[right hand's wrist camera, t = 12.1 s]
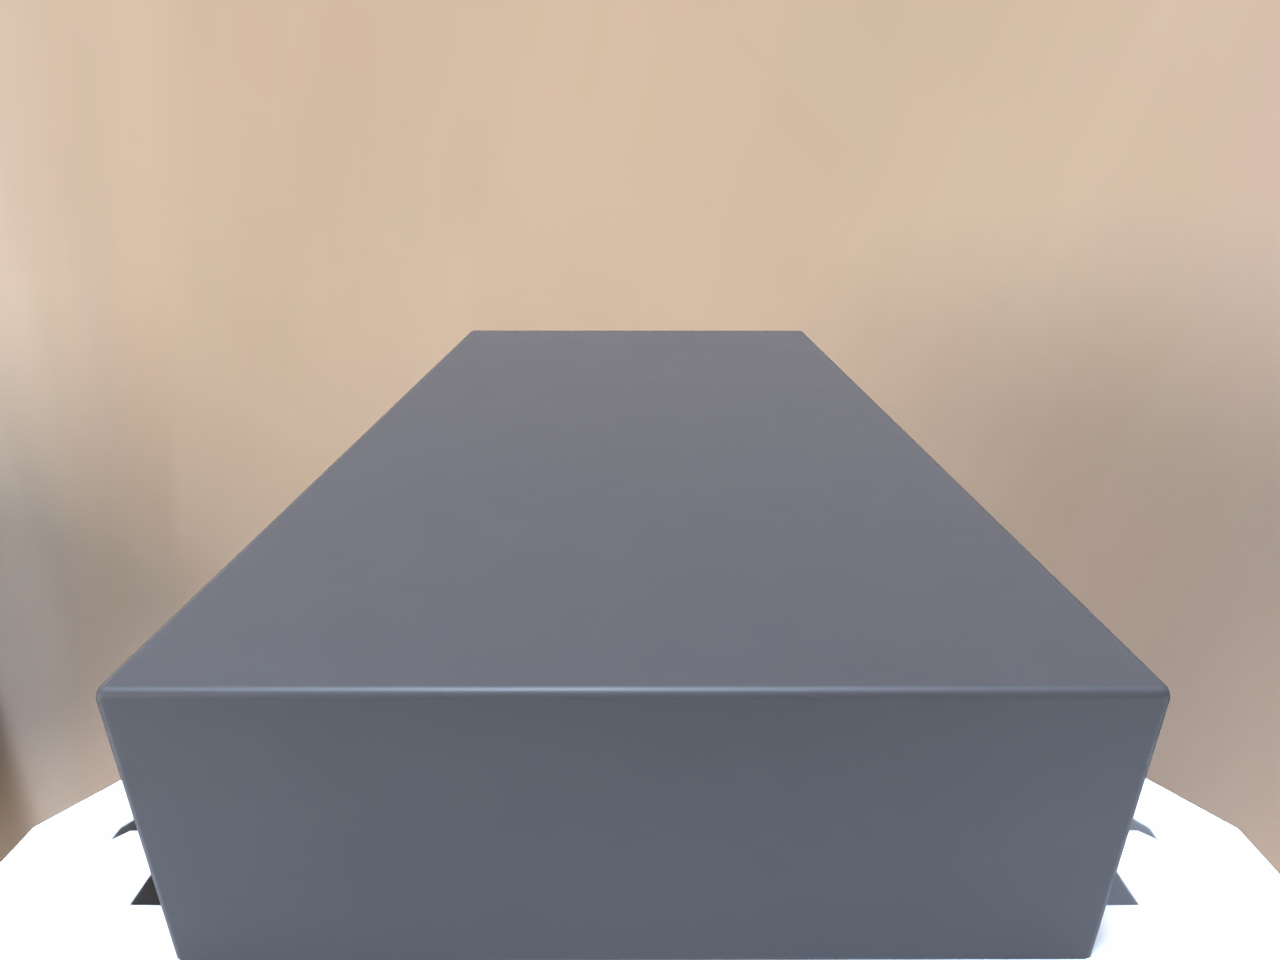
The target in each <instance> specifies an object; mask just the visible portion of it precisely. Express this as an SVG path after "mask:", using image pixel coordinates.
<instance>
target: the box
mask: <svg viewBox="0 0 1280 960" xmlns="http://www.w3.org/2000/svg"><path fill="white" fill-rule="evenodd" d="M96 700H97V704H98V707H99V710H100V713H101V716H102V720H103V723H104V726H105V729H106V732H107V735H108V739H109V742H110V745H111V748H112V751H113V755H114V758H115V761H116V764H117V767H118V770H119V774H120V777H121V780H122V783H123V786H124V790H125V793H126V796H127V799H128V802H129V805H130V809H131V812H132V815H133V818H134V821H135V825H136V828H137V831H138V834H139V837H140V840H141V844H142V847H143V850H144V853H145V856H146V860H147V863H148V866H149V869H150V872H151V875H152V879H153V882H154V885H155V888H156V891H157V895H158V898H159V901H160V904H161V907H162V910H163V914H164V917H165V920H166V923H167V926H168V930H169V933H170V936H171V939H172V942H173V945H174V949H175V952H176V955H177V958H178V959H179V960H936V959H1087V958H1089V957H1091V953H1092V950H1093V947H1094V944H1095V940H1096V937H1097V934H1098V931H1099V927H1100V924H1101V921H1102V918H1103V914H1104V911H1105V908H1106V905H1107V901H1108V898H1109V895H1110V892H1111V888H1112V885H1113V882H1114V879H1115V875H1116V872H1117V869H1118V866H1119V862H1120V859H1121V856H1122V853H1123V849H1124V846H1125V843H1126V840H1127V836H1128V833H1129V830H1130V827H1131V823H1132V820H1133V817H1134V814H1135V810H1136V807H1137V804H1138V801H1139V797H1140V794H1141V791H1142V788H1143V784H1144V781H1145V778H1146V775H1147V771H1148V768H1149V765H1150V762H1151V758H1152V755H1153V752H1154V749H1155V745H1156V742H1157V739H1158V736H1159V732H1160V729H1161V726H1162V723H1163V720H1164V716H1165V713H1166V710H1167V707H1168V703H1169V700H1170V692H1169V690H1168V687H1167V686H1166V685H1165V684H1164V683H1163V682H1162V681H1161V680H1160V679H1159V678H1158V677H1157V676H1156V675H1155V674H1154V673H1153V672H1152V671H1151V670H1150V669H1149V668H1147V667H1146V666H1145V665H1144V664H1143V663H1142V662H1141V661H1140V660H1139V659H1138V658H1137V657H1136V656H1135V655H1134V654H1133V653H1132V652H1131V651H1130V650H1129V649H1128V648H1127V647H1126V646H1125V645H1124V644H1123V643H1122V642H1121V641H1120V640H1119V639H1118V638H1117V637H1116V636H1115V635H1114V634H1113V633H1111V632H1110V631H1109V630H1108V629H1107V628H1106V627H1105V626H1104V625H1103V624H1102V623H1101V622H1100V621H1099V620H1098V619H1097V618H1096V617H1095V616H1094V615H1093V614H1092V613H1091V612H1090V611H1089V610H1088V609H1087V608H1086V607H1085V606H1084V605H1083V604H1082V603H1081V602H1080V601H1079V600H1078V599H1076V598H1075V597H1074V596H1073V595H1072V594H1071V593H1070V592H1069V591H1068V590H1067V589H1066V588H1065V587H1064V586H1063V585H1062V584H1061V583H1060V582H1059V581H1058V580H1057V579H1056V578H1055V577H1054V576H1053V575H1052V574H1051V573H1050V572H1049V571H1048V570H1047V569H1046V568H1045V567H1044V566H1043V565H1041V564H1040V563H1039V562H1038V561H1037V560H1036V559H1035V558H1034V557H1033V556H1032V555H1031V554H1030V553H1029V552H1028V551H1027V550H1026V549H1025V548H1024V547H1023V546H1022V545H1021V544H1020V543H1019V542H1018V541H1017V540H1016V539H1015V538H1014V537H1013V536H1012V535H1011V534H1010V533H1009V532H1008V531H1007V530H1005V529H1004V528H1003V527H1002V526H1001V525H1000V524H999V523H998V522H997V521H996V520H995V519H994V518H993V517H992V516H991V515H990V514H989V513H988V512H987V511H986V510H985V509H984V508H983V507H982V506H981V505H980V504H979V503H978V502H977V501H976V500H975V499H974V498H973V497H972V496H970V495H969V494H968V493H967V492H966V491H965V490H964V489H963V488H962V487H961V486H960V485H959V484H958V483H957V482H956V481H955V480H954V479H953V478H952V477H951V476H950V475H949V474H948V473H947V472H946V471H945V470H944V469H943V468H942V467H941V466H940V465H939V464H938V463H937V462H936V461H934V460H933V459H932V458H931V457H930V456H929V455H928V454H927V453H926V452H925V451H924V450H923V449H922V448H921V447H920V446H919V445H918V444H917V443H916V442H915V441H914V440H913V439H912V438H911V437H910V436H909V435H908V434H907V433H906V432H905V431H904V430H903V429H902V428H901V427H899V426H898V425H897V424H896V423H895V422H894V421H893V420H892V419H891V418H890V417H889V416H888V415H887V414H886V413H885V412H884V411H883V410H882V409H881V408H880V407H879V406H878V405H877V404H876V403H875V402H874V401H873V400H872V399H871V398H870V397H869V396H868V395H867V394H866V393H865V392H863V391H862V390H861V389H860V388H859V387H858V386H857V385H856V384H855V383H854V382H853V381H852V380H851V379H850V378H849V377H848V376H847V375H846V374H845V373H844V372H843V371H842V370H841V369H840V368H839V367H838V366H837V365H836V364H835V363H834V362H833V361H832V360H831V359H830V358H828V357H827V356H826V355H825V354H824V353H823V352H822V351H821V350H820V349H819V348H818V347H817V346H816V345H815V344H814V343H813V342H812V341H811V340H810V339H809V338H808V337H807V336H806V335H805V334H804V333H803V332H801V331H472V332H471V333H469V334H468V335H467V336H466V337H465V338H464V339H463V340H462V341H461V342H460V343H459V344H458V345H457V346H456V347H455V348H454V349H453V350H452V351H451V352H450V353H449V354H448V355H446V356H445V357H444V358H443V359H442V360H441V361H440V362H439V363H438V364H437V365H436V366H435V367H434V368H433V369H432V370H431V371H430V372H429V373H428V374H427V375H426V376H424V377H423V378H422V379H421V380H420V381H419V382H418V383H417V384H416V385H415V386H414V387H413V388H412V389H411V390H410V391H409V392H408V393H407V394H406V395H405V396H404V397H403V398H401V399H400V400H399V401H398V402H397V403H396V404H395V405H394V406H393V407H392V408H391V409H390V410H389V411H388V412H387V413H386V414H385V415H384V416H383V417H382V418H381V419H379V420H378V421H377V422H376V423H375V424H374V425H373V426H372V427H371V428H370V429H369V430H368V431H367V432H366V433H365V434H364V435H363V436H362V437H361V438H360V439H359V440H357V441H356V442H355V443H354V444H353V445H352V446H351V447H350V448H349V449H348V450H347V451H346V452H345V453H344V454H343V455H342V456H341V457H340V458H339V459H338V460H337V461H336V462H334V463H333V464H332V465H331V466H330V467H329V468H328V469H327V470H326V471H325V472H324V473H323V474H322V475H321V476H320V477H319V478H318V479H317V480H316V481H315V482H314V483H312V484H311V485H310V486H309V487H308V488H307V489H306V490H305V491H304V492H303V493H302V494H301V495H300V496H299V497H298V498H297V499H296V500H295V501H294V502H293V503H292V504H291V505H289V506H288V507H287V508H286V509H285V510H284V511H283V512H282V513H281V514H280V515H279V516H278V517H277V518H276V519H275V520H274V521H273V522H272V523H271V524H270V525H269V526H267V527H266V528H265V529H264V530H263V531H262V532H261V533H260V534H259V535H258V536H257V537H256V538H255V539H254V540H253V541H252V542H251V543H250V544H249V545H248V546H247V547H246V548H244V549H243V550H242V551H241V552H240V553H239V554H238V555H237V556H236V557H235V558H234V559H233V560H232V561H231V562H230V563H229V564H228V565H227V566H226V567H225V568H224V569H222V570H221V571H220V572H219V573H218V574H217V575H216V576H215V577H214V578H213V579H212V580H211V581H210V582H209V583H208V584H207V585H206V586H205V587H204V588H203V589H202V590H200V591H199V592H198V593H197V594H196V595H195V596H194V597H193V598H192V599H191V600H190V601H189V602H188V603H187V604H186V605H185V606H184V607H183V608H182V609H181V610H180V611H179V612H177V613H176V614H175V615H174V616H173V617H172V618H171V619H170V620H169V621H168V622H167V623H166V624H165V625H164V626H163V627H162V628H161V629H160V630H159V631H158V632H157V633H155V634H154V635H153V636H152V637H151V638H150V639H149V640H148V641H147V642H146V643H145V644H144V645H143V646H142V647H141V648H140V649H139V650H138V651H137V652H136V653H135V654H134V655H132V656H131V657H130V658H129V659H128V660H127V661H126V662H125V663H124V664H123V665H122V666H121V667H120V668H119V669H118V670H117V671H116V672H115V673H114V674H113V675H112V676H110V677H109V678H108V679H107V680H106V681H105V682H104V683H103V684H102V685H101V686H100V687H99V689H98V691H97V694H96Z"/></svg>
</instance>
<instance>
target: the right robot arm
mask: <svg viewBox="0 0 1280 960" xmlns="http://www.w3.org/2000/svg"><path fill="white" fill-rule="evenodd" d="M0 960H179V959H178V958H177V955H176V952H175V949H174V945H173V942H172V939H171V936H170V933H169V930H168V926H167V923H166V920H165V917H164V914H163V910H162V907H161V904H160V901H159V898H158V895H157V891H156V888H155V885H154V882H153V879H152V875H151V872H150V869H149V866H148V863H147V860H146V856H145V853H144V850H143V847H142V844H141V840H140V837H139V834H138V831H137V828H136V825H135V821H134V818H133V815H132V812H131V809H130V805H129V802H128V799H127V796H126V793H125V790H124V786H123V783H122V780H120V781H118V782H117V783H115V784H113V785H111V786H109V787H107V788H105V789H104V790H102V791H100V792H98V793H96V794H94V795H92V796H91V797H89V798H87V799H85V800H83V801H81V802H79V803H78V804H76V805H74V806H72V807H70V808H68V809H66V810H65V811H63V812H61V813H59V814H57V815H55V816H53V817H52V818H50V819H48V820H46V821H44V822H42V823H40V824H39V825H37V826H35V827H33V828H32V829H31V830H30V831H29V833H28V834H27V835H26V836H25V837H24V838H23V839H22V840H21V841H20V842H19V843H18V844H17V845H16V846H15V848H14V849H13V850H12V851H11V852H10V853H9V854H8V855H7V856H6V857H5V858H4V859H3V860H2V861H1V862H0ZM936 960H1280V874H1279V873H1278V872H1277V871H1276V870H1275V868H1274V867H1273V866H1272V865H1271V864H1270V863H1269V862H1268V861H1267V860H1266V859H1265V857H1264V856H1263V855H1262V854H1261V853H1260V852H1259V851H1258V850H1257V849H1256V848H1255V847H1254V845H1253V844H1252V843H1251V842H1250V841H1249V840H1248V839H1247V838H1246V837H1245V836H1244V835H1243V833H1242V832H1241V831H1240V830H1239V829H1238V828H1236V827H1234V826H1233V825H1231V824H1229V823H1227V822H1225V821H1223V820H1222V819H1220V818H1218V817H1216V816H1214V815H1212V814H1211V813H1209V812H1207V811H1205V810H1203V809H1201V808H1200V807H1198V806H1196V805H1194V804H1192V803H1190V802H1189V801H1187V800H1185V799H1183V798H1181V797H1179V796H1178V795H1176V794H1174V793H1172V792H1170V791H1168V790H1167V789H1165V788H1163V787H1161V786H1159V785H1157V784H1155V783H1154V782H1152V781H1150V780H1148V779H1146V778H1145V781H1144V784H1143V788H1142V791H1141V794H1140V797H1139V801H1138V804H1137V807H1136V810H1135V814H1134V817H1133V820H1132V823H1131V827H1130V830H1129V833H1128V836H1127V840H1126V843H1125V846H1124V849H1123V853H1122V856H1121V859H1120V862H1119V866H1118V869H1117V872H1116V875H1115V879H1114V882H1113V885H1112V888H1111V892H1110V895H1109V898H1108V901H1107V905H1106V908H1105V911H1104V914H1103V918H1102V921H1101V924H1100V927H1099V931H1098V934H1097V937H1096V940H1095V944H1094V947H1093V950H1092V953H1091V957H1089V958H1087V959H936Z"/></svg>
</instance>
